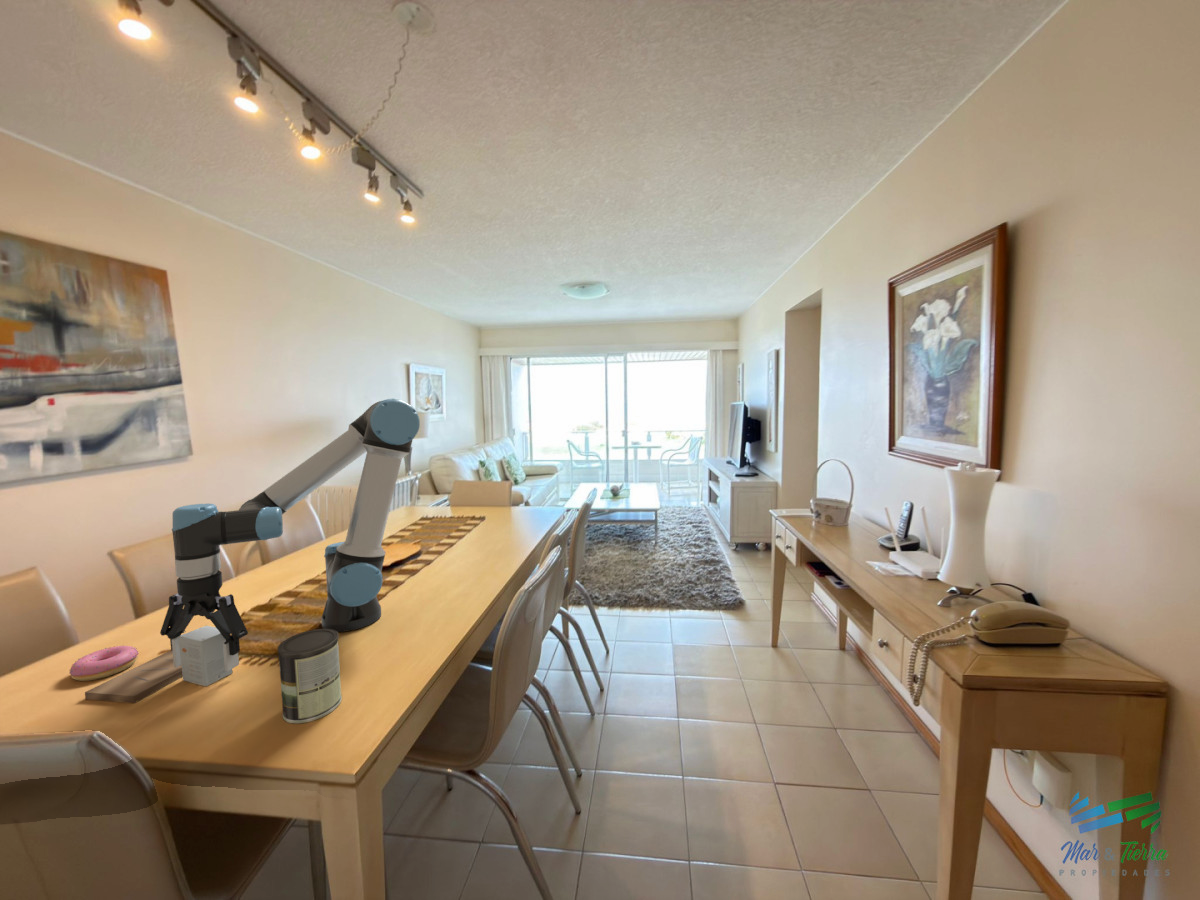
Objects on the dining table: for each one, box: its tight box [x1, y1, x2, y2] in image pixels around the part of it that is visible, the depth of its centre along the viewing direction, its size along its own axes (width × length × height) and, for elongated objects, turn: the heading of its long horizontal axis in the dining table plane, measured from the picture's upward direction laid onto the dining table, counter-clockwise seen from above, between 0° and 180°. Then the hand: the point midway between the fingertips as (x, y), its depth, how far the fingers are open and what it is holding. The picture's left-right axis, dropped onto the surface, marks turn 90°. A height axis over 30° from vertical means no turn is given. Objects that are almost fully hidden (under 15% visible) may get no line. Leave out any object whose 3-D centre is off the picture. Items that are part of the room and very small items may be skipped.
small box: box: [179, 625, 233, 687], centre depth 102 cm, size 8×6×10 cm
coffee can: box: [277, 628, 343, 725], centre depth 91 cm, size 10×10×14 cm
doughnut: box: [69, 645, 139, 682], centre depth 106 cm, size 11×11×4 cm
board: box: [84, 649, 183, 704], centre depth 104 cm, size 12×20×2 cm, turn 173°
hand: (206, 666), depth 102 cm, fingers open, 12 cm apart
